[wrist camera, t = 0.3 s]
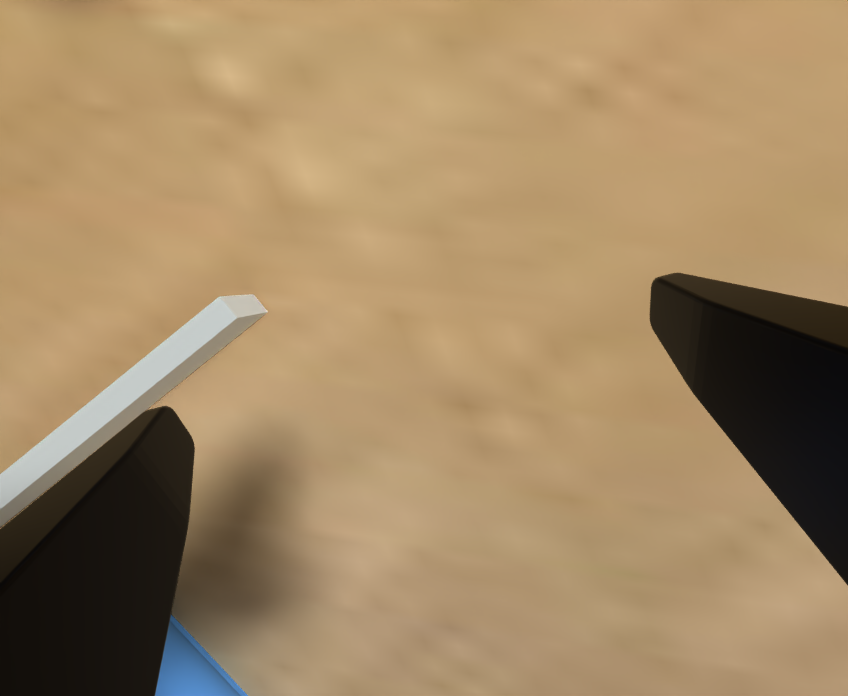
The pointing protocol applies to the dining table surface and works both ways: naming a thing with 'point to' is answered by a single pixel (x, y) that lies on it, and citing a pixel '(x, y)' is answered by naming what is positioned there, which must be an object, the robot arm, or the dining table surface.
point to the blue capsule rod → (191, 668)
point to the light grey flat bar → (125, 400)
